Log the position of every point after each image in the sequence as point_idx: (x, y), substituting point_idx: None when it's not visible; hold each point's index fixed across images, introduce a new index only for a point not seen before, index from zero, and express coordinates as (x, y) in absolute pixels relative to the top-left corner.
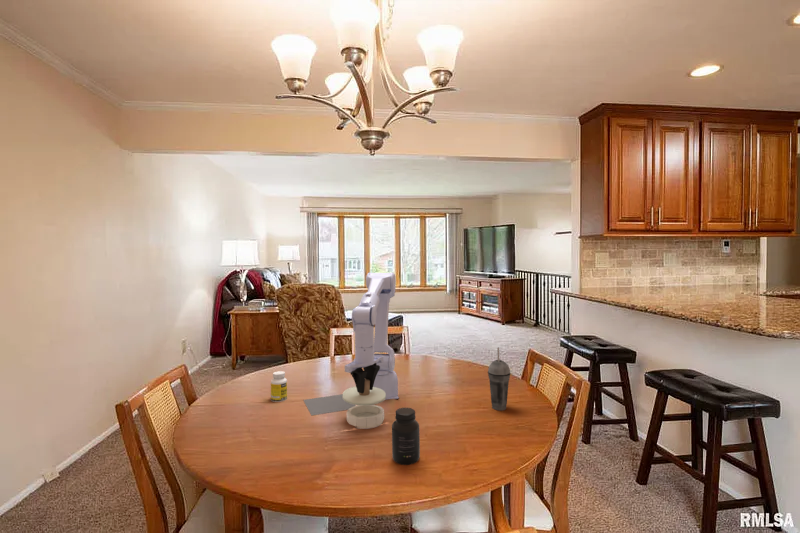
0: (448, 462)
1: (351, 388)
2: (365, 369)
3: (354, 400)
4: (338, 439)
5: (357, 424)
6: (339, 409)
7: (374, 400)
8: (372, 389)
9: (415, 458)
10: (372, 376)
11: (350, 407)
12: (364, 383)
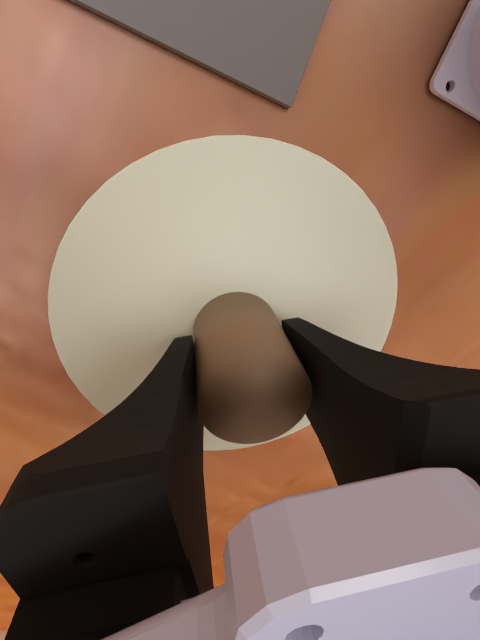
0: (215, 584)
1: (222, 159)
2: (371, 426)
3: (96, 393)
4: (10, 352)
5: None
6: (185, 17)
7: (213, 444)
8: (342, 297)
9: None
10: (333, 467)
11: (264, 53)
12: (202, 458)
